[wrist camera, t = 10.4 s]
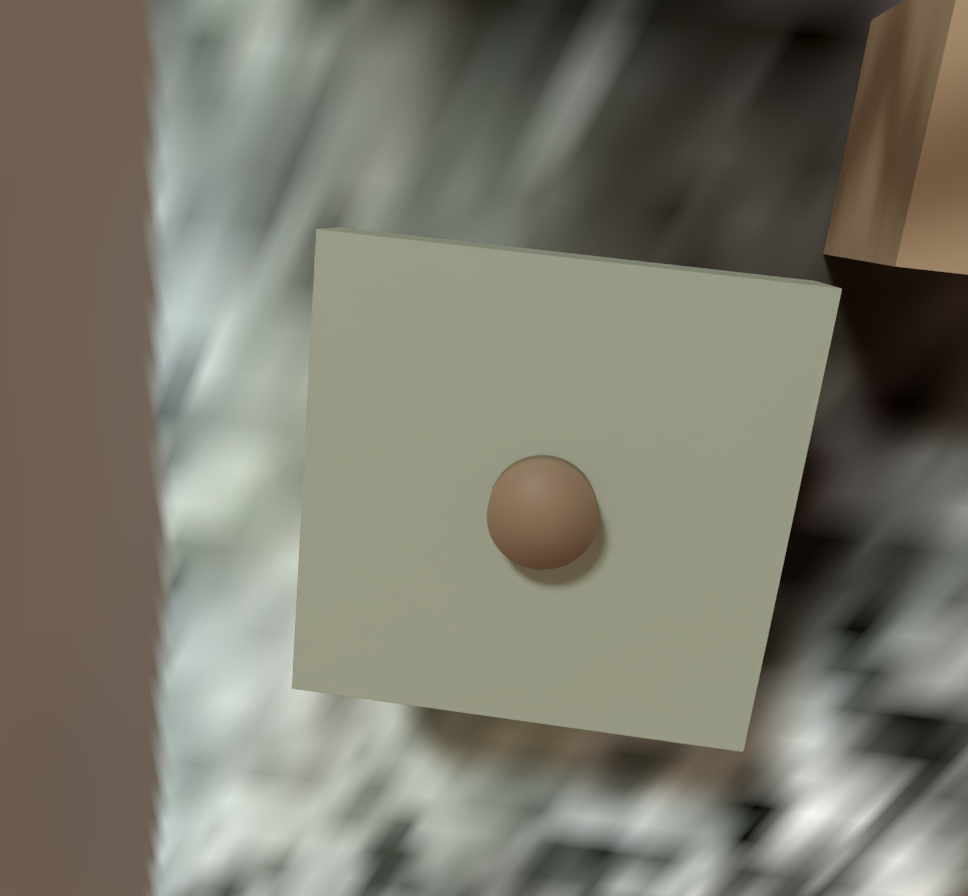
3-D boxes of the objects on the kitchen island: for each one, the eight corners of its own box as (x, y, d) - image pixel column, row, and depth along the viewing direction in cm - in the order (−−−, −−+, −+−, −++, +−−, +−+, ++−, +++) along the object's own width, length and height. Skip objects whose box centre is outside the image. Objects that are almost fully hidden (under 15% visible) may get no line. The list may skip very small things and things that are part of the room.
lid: (339, 227, 21) (305, 229, 18) (815, 280, 20) (854, 292, 17) (313, 649, 24) (282, 706, 21) (727, 706, 23) (750, 772, 20)
